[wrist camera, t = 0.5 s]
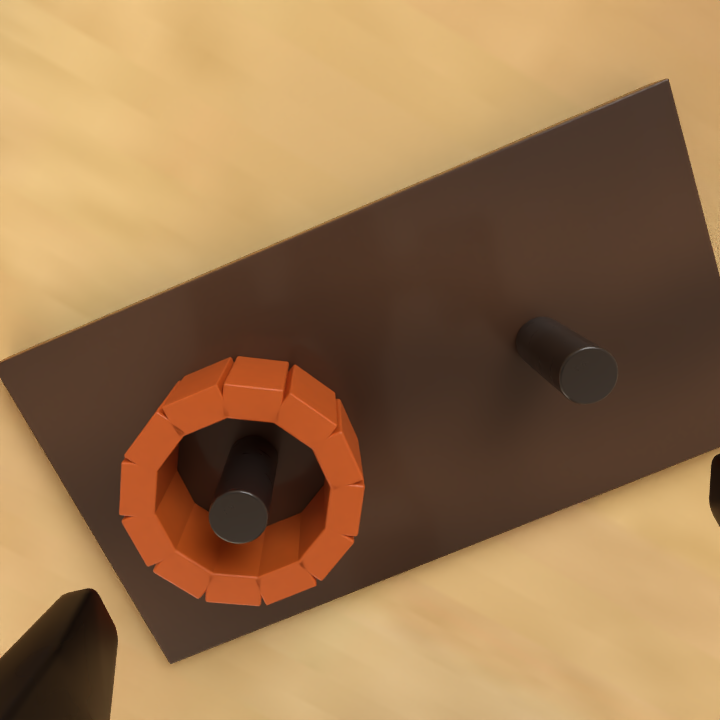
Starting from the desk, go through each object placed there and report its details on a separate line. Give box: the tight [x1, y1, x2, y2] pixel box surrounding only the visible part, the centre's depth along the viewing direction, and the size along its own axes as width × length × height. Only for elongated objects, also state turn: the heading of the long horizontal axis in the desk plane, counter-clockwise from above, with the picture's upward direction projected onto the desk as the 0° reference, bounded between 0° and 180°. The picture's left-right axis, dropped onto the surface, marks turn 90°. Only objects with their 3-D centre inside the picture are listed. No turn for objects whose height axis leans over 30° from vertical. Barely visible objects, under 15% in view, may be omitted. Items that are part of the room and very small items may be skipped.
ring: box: [119, 356, 365, 606], centre depth 20 cm, size 7×7×3 cm
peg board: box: [0, 79, 720, 664], centre depth 20 cm, size 12×22×5 cm, turn 112°
